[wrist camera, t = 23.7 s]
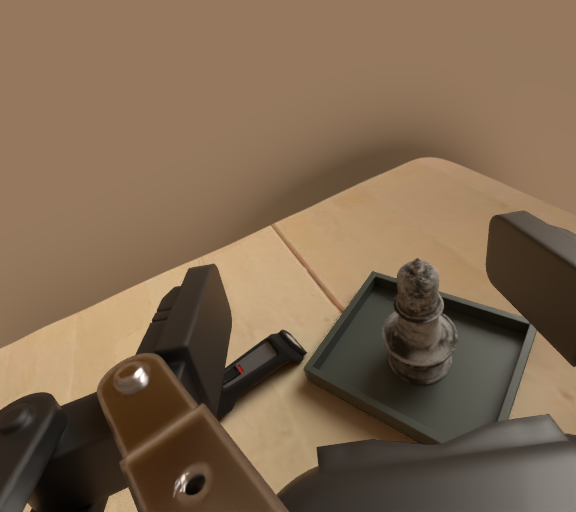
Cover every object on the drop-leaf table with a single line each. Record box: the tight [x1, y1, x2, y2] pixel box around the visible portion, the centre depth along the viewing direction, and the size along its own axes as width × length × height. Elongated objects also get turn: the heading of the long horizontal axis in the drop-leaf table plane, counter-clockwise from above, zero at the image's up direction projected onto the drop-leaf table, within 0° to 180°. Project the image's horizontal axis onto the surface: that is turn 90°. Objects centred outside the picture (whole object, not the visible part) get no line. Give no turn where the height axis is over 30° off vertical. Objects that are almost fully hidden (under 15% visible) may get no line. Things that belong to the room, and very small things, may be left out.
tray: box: [304, 271, 537, 445], centre depth 32 cm, size 15×13×2 cm
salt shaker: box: [382, 258, 458, 386], centre depth 28 cm, size 6×6×12 cm
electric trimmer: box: [216, 330, 307, 419], centre depth 33 cm, size 4×16×3 cm, turn 122°
